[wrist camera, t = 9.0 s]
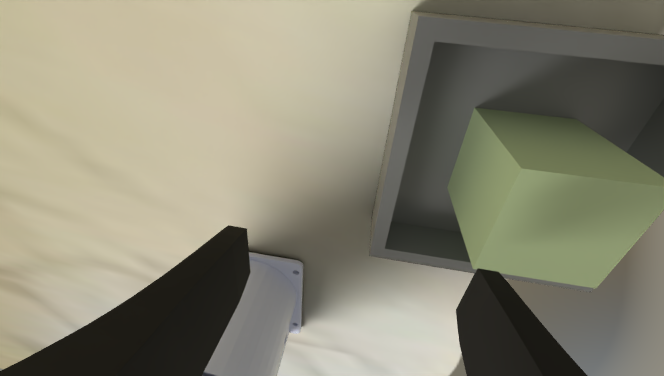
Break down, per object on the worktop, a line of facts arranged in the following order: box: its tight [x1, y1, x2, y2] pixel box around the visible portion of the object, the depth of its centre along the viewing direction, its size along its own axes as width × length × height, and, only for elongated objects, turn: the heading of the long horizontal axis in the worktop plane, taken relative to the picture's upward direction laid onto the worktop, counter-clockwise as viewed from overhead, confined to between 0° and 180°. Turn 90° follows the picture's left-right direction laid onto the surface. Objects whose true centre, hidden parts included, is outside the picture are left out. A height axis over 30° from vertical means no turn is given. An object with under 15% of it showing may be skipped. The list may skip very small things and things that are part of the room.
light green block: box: [447, 108, 664, 288], centre depth 13 cm, size 5×5×6 cm
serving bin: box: [369, 11, 664, 292], centre depth 15 cm, size 12×12×4 cm
